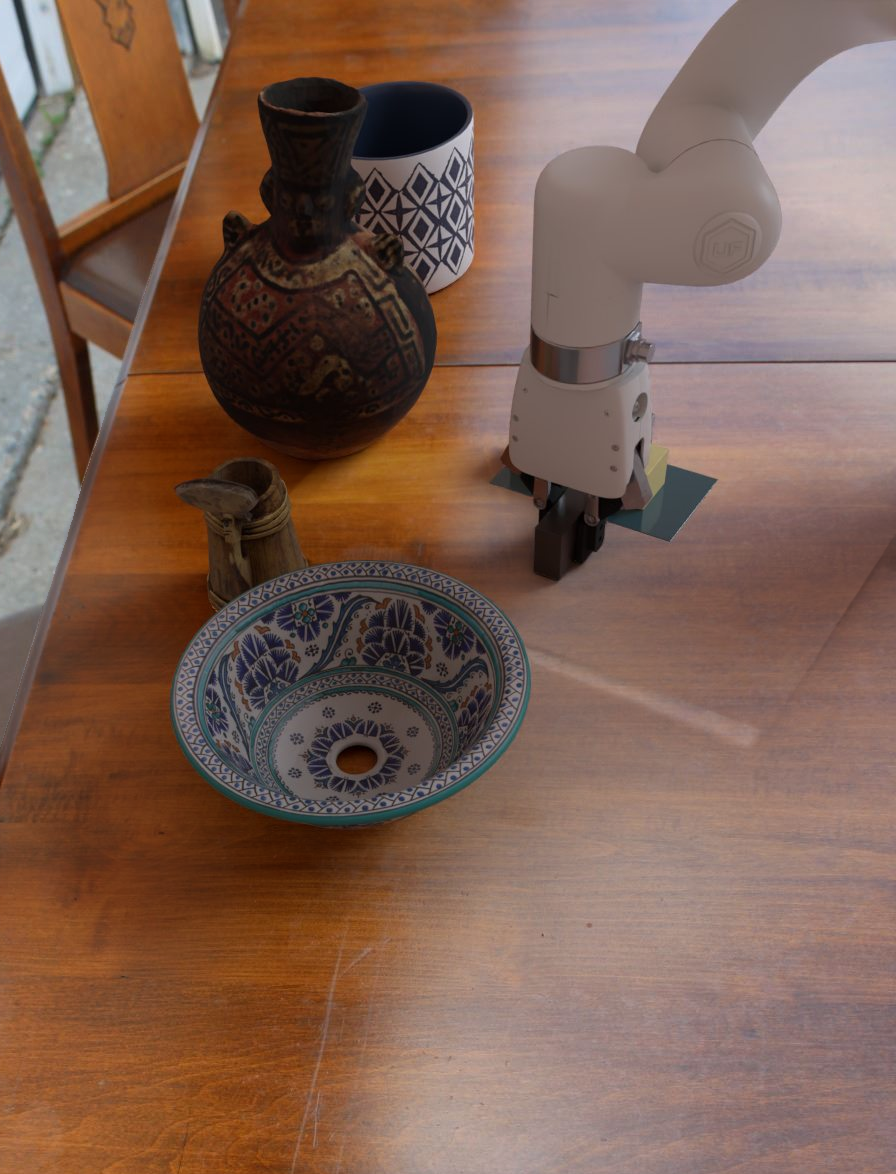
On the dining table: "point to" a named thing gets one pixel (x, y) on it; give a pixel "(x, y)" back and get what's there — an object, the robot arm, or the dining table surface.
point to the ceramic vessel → (314, 292)
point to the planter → (419, 175)
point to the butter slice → (656, 468)
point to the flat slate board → (661, 511)
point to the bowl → (350, 692)
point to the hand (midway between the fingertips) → (570, 545)
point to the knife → (560, 533)
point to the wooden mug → (244, 526)
